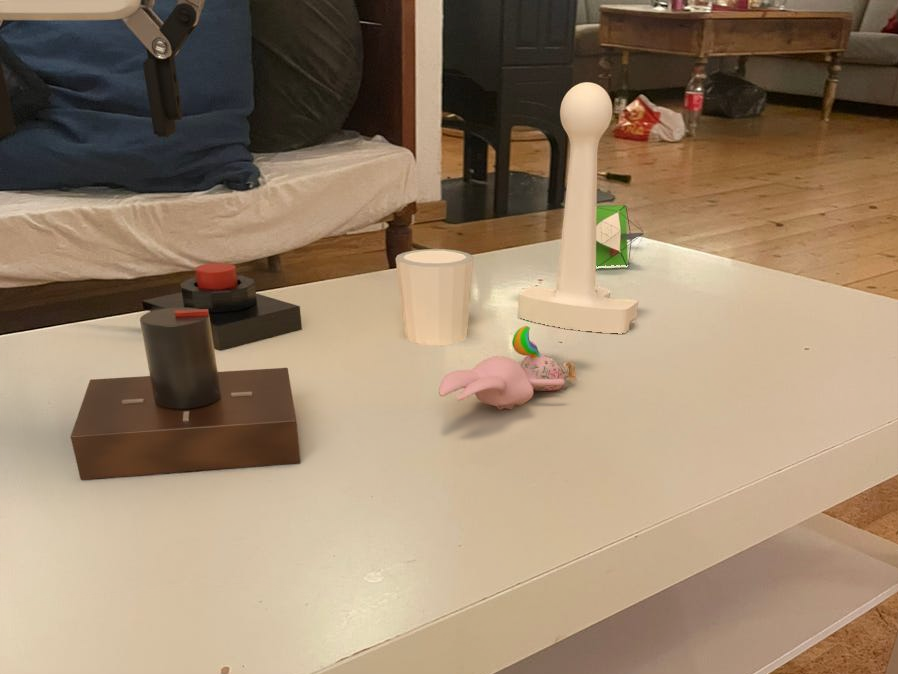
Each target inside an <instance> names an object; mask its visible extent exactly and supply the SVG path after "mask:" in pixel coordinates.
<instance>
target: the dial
mask: <svg viewBox="0 0 898 674" xmlns="http://www.w3.org/2000/svg"><path fill="white" fill-rule="evenodd" d="M139 323H140V328H141V334H142V339H143V344H144V352H145V356H146V362H147V367H148V372H149V376H150V379H151V384H152V390H153V395H154V401H155V403H156V404H158V405H159V406H162V407H165V408H171V409H191V408H198V407H203V406H206V405H209V404H212V403H214V402H216V401H217V400H218V399H219V398H220V396H221V392H220V385H219V378H218V372H219V371H218V365H217V358H216V349H214V343H213V336H212V329H211V322H210V315H209V312H208V309H196V308H167V309H160V310H155V311H152V312H151V311H148V312H146V313H145V314H143V315H141V316H140V317H139Z"/></svg>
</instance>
